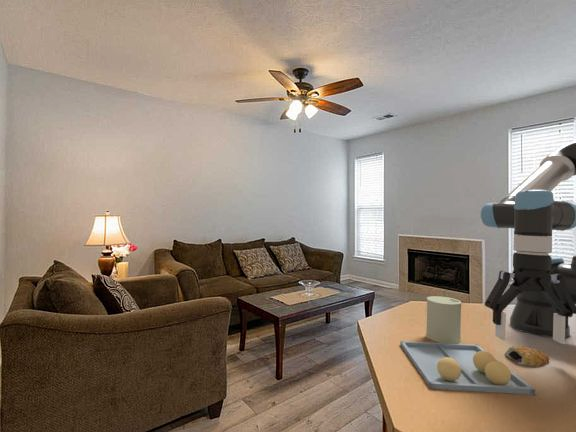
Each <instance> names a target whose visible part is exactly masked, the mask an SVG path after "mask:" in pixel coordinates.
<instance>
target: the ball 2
mask: <svg viewBox="0 0 576 432" xmlns="http://www.w3.org/2000/svg"><path fill="white" fill-rule="evenodd" d="M510 370H511V369H509V367H508V366H507V365H506V364H504V363H503V362H501V361H499V360H498V361H491V362H489V363H487V365H486V366H485V374H486V377H487V378H488V379H489V380H490V381H491V382H492V383H494V384H496V385H506V384H507V383H509V381H510V379H511V373H510Z"/></svg>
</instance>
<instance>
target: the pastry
mask: <svg viewBox="0 0 576 432" xmlns="http://www.w3.org/2000/svg"><path fill="white" fill-rule="evenodd" d="M504 356H505V357H506V358H509V359H512V360H513V361H515V362H517V363H518V364H519V365H522V366H526V367H540V366H543V365H546V364H548V363H549V362H550V357H549V355H548V354H545V353H544V352H542V351H541V350H539V349H534V348H532V347H529V346H524V345H518V346H517V345H515V346H514V345H513V346H511V347H508V349H507V350H506V351H505V353H504Z"/></svg>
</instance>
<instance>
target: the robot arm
mask: <svg viewBox="0 0 576 432" xmlns="http://www.w3.org/2000/svg"><path fill="white" fill-rule="evenodd" d="M574 176H576V139H575V140H573V141H571V142H569V143H566V144H564V145H562V146H561V147H558V148H556V149H555V150H554V151H552V152H550V153H549V154H548V155H547V156H545V158H543V159H542V160H541V162H540V164H539V166H538V168H536V169H535V170H534V171H533V172H532V173H531V174H530V175H528V176H527V177H526V178H525V179H524V180H523V181H522V182H521V183H519V184H518V185H517V186H516V187H515V188H514V189H512V190H511V191H510V192H509V193H507V194H506V196H504V197H503V198H502V199H501V200H500V201H498V202H490V203H486V204H484V205H483V206H482V208H481V210H480V219H481V221H482V223H483V225H485V227H488V228H495V229H496V228H497V229H500V228H501V229H513V248H512V249H513V251H514V253H513V254H512V268H513V271H512V272H508V271H504V270H500V271H499V273H498V279H497V280H496V283H495V284H494V286H493V288H492V290H491V292H490V293H489V295H488V297H487V298H486V300H485V302H484V306H485V307H486V308H488V309H491V310H492V322H493V324H494V325H495V337H497V338H498V339H500V340H501V341H506V328H507V327H506V322H507V319H506V318H507V313H506V312H505V311H504V310H505V309H506V308H507V307H508V306H509V305H510V304H511V303H512V302H513V300H515V299H516V304H515V305H514V307H513V309H512V312H511V315H510V317H509V325H510V326H511V327H513V328H515V329H516V330H518V331H521V332H524V333H528V334H531V335H536V336H540V337H541V336H542V337H547V338H552V340H553V341H554V342H556V343H559V344H561V345H562V344H563V345H565V344H566V343H565V342H566V338H567V337H570V335H571V328H570V325H569V318H572V317H573V316H574V315H576V254H574V255H572V258H571V259H572V260H571V263H565V261H564V259H563V258H562V257H552V256H551V253H553V231H561V232H563V231H569V230H572V229H574V228H576V204H574V203H571V202H568V201H564V200H561V201H559V200H555V199H554V193H553V192H552V191H553V190H554V189H555V188H556V187H557V186H558V185H560V183H561V182H565V181H568V180H569V179H570V178H572V177H574ZM512 280H513V282H512V283H511V284H510V281H512ZM509 284H510V285H509ZM508 285H509V288H508V289H507V287H508ZM506 289H507V290H506Z"/></svg>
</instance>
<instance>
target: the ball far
mask: <svg viewBox="0 0 576 432" xmlns="http://www.w3.org/2000/svg"><path fill="white" fill-rule="evenodd" d="M437 370H438V373H439V374H440V376H441V377H442V378H444V379H445V380H448V381H455V380H457V379H458V378H459V377H460V375H461V368H460V365H459V364H458V362H457V361H455V360H454V359H452V358H449V357H445V358H442V359H440V360H439V362H438V364H437Z"/></svg>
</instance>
